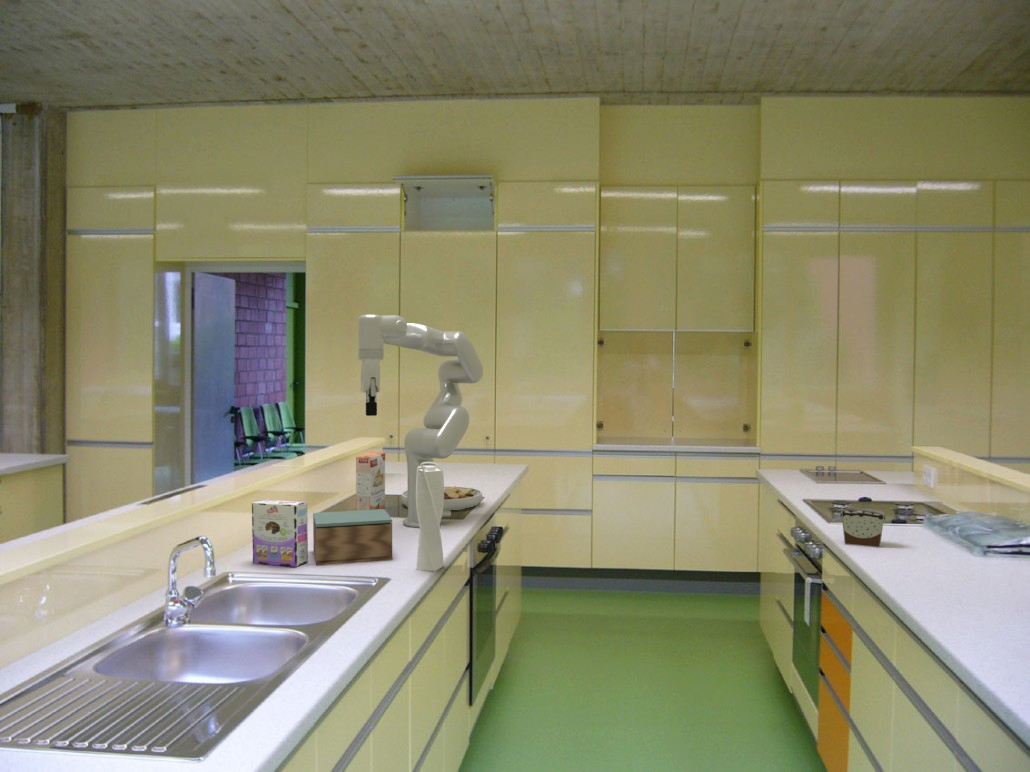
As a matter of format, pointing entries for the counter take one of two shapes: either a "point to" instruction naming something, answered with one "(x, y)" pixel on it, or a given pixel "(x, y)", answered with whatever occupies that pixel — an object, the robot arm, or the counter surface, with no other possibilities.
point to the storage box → (352, 543)
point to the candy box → (280, 532)
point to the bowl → (455, 497)
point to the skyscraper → (429, 516)
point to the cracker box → (370, 481)
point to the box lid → (351, 518)
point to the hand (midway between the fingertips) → (371, 415)
